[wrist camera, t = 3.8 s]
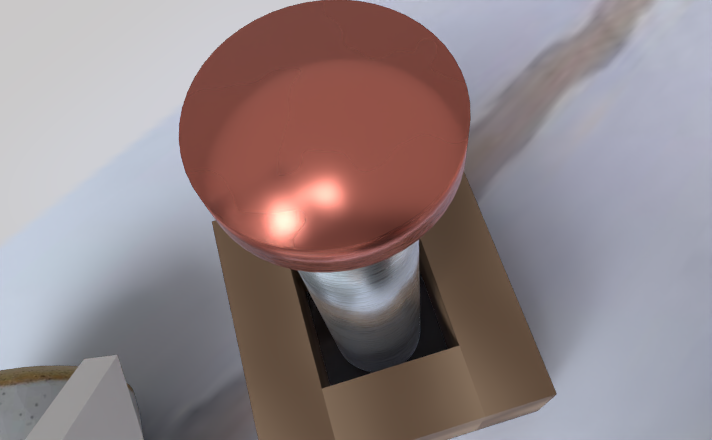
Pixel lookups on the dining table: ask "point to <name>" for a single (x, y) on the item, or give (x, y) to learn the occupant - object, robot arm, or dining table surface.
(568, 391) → the dining table surface
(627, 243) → the dining table surface
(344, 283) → the red-capped mushroom
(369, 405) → the eye block
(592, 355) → the dining table surface
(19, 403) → the ceramic mug
